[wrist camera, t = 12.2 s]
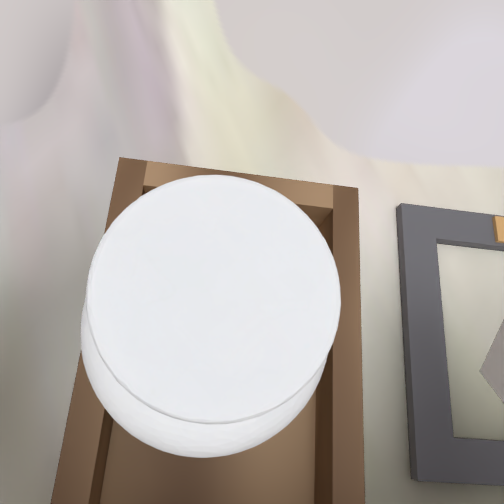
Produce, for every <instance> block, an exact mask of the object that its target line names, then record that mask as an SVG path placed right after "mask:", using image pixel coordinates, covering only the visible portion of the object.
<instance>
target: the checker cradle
mask: <svg viewBox="0 0 504 504" xmlns="http://www.w3.org/2000/svg"><path fill="white" fill-rule="evenodd" d="M396 211H397V229H398V247H399V265H400V284H401V302H402V320H403V338H404V357H405V375H406V393H407V411H408V430H409V448H410V466H411V479H413V480H416V481H427V482H446V483H464V484H482V485H500V486H504V441H498V440H483V439H468V438H454V437H453V426H452V414H451V403H450V391H449V380H448V369H447V357H446V346H445V334H444V323H443V312H442V300H441V289H440V277H439V266H438V254H437V243H439V244H448V245H456V246H465V247H473V248H482V249H490V250H499V251H504V216H498V215H490V214H483V213H475V212H467V211H459V210H451V209H443V208H435V207H427V206H419V205H412V204H404V203H401V204H400V205H399V206H398V207H397V208H396Z"/></svg>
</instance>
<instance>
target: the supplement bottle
mask: <svg viewBox="0 0 504 504" xmlns="http://www.w3.org/2000/svg"><path fill="white" fill-rule="evenodd" d="M340 309H341V293H340V283H339V276H338V272H337V267H336V264H335V261H334V258H333V256H332V253H331V251H330V249H329V247H328V244H327V242H326V240H325V239H324V237H323V236H322V234H321V233H320V231H319V229H318V228H317V227H316V225H315V224H314V223H313V222H312V220H311V219H310V218H309V217H308V216H307V215H306V214H305V213H304V212H303V211H302V210H301V209H300V208H299V207H298V206H297V205H296V204H294V203H293V202H292V201H290V200H289V199H288V198H286V197H285V196H283V195H282V194H280V193H279V192H277V191H275V190H273V189H271V188H269V187H266V186H264V185H262V184H260V183H257V182H254V181H251V180H247V179H244V178H239V177H234V176H227V175H198V176H193V177H187V178H182V179H178V180H175V181H172V182H169V183H166V184H164V185H161V186H159V187H157V188H155V189H153V190H151V191H149V192H148V193H146V194H144V195H142V196H141V197H139V198H138V199H137V200H136V201H134V202H133V203H132V204H130V205H129V206H128V207H127V208H126V209H125V210H124V211H123V212H122V213H121V214H120V215H119V216H118V217H117V218H116V219H115V220H114V221H113V222H112V224H111V225H110V227H109V228H108V230H107V231H106V233H105V234H104V235H103V237H102V239H101V241H100V243H99V245H98V247H97V250H96V252H95V255H94V257H93V259H92V263H91V266H90V269H89V273H88V279H87V287H86V298H85V302H84V306H83V310H82V318H81V350H82V358H83V363H84V366H85V369H86V373H87V376H88V378H89V381H90V383H91V385H92V388H93V390H94V392H95V394H96V396H97V397H98V399H99V400H100V402H101V403H102V405H103V406H104V408H105V409H106V410H107V412H108V413H109V414H110V415H111V417H112V418H113V419H114V420H115V421H116V422H117V423H118V424H119V425H120V426H122V427H123V428H124V429H125V430H126V431H127V432H129V433H130V434H131V435H132V436H134V437H136V438H137V439H139V440H140V441H142V442H144V443H146V444H148V445H150V446H152V447H154V448H156V449H159V450H161V451H164V452H167V453H171V454H175V455H179V456H186V457H196V458H209V457H220V456H227V455H231V454H235V453H239V452H242V451H245V450H247V449H250V448H253V447H255V446H257V445H259V444H261V443H263V442H265V441H266V440H268V439H270V438H271V437H273V436H274V435H276V434H277V433H279V432H280V431H281V430H282V429H284V428H285V427H286V426H287V425H288V424H289V423H290V422H291V421H292V420H293V419H294V418H295V417H296V416H297V415H298V414H299V413H300V412H301V411H302V409H303V408H304V407H305V405H306V404H307V402H308V401H309V399H310V398H311V396H312V395H313V393H314V391H315V389H316V387H317V385H318V383H319V381H320V378H321V375H322V373H323V370H324V367H325V363H326V360H327V355H328V353H329V351H330V349H331V346H332V344H333V342H334V338H335V335H336V332H337V328H338V323H339V317H340Z"/></svg>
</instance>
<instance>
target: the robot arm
mask: <svg viewBox="0 0 504 504" xmlns="http://www.w3.org/2000/svg"><path fill="white" fill-rule="evenodd" d="M480 373H481V374H482V375H483V377H484V378H485V379H486V381H487V382H488V383H489V384H490V386H491V387H492V388H493V390H494V391H495V392H496V394H497V395H498V396H499V398H500V399H501V400H502V402H503V403H504V320H503V322H502V324H501V326H500V329H499V331H498V333H497V335H496V337H495V339H494V341H493V344H492V346H491V348H490V350H489V352H488V354H487V357H486V359H485V361H484V363H483V365H482V367H481V369H480Z"/></svg>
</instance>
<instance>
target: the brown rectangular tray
mask: <svg viewBox="0 0 504 504" xmlns="http://www.w3.org/2000/svg"><path fill="white" fill-rule="evenodd" d="M198 175H227V176H234V177H239V178H244V179H247V180H251V181H254V182H257V183H260V184H262V185H264V186H266V187H269V188H271V189H273V190H275V191H277V192H279V193H280V194H282V195H283V196H285V197H286V198H288V199H289V200H290V201H292V202H293V203H294V204H296V205H297V206H298V207H299V208H300V209H301V210H302V211H303V212H304V213H305V214H306V215H307V216H308V217H309V218H310V219H311V220H312V222H313V223H314V224H315V225H316V227H317V228H318V229H319V231H320V233H321V234H322V236H323V237H324V239H325V240H326V242H327V244H328V247H329V249H330V251H331V253H332V256H333V258H334V261H335V264H336V267H337V272H338V276H339V283H340V293H341V309H340V317H339V323H338V328H337V332H336V335H335V338H334V342H333V344H332V346H331V349H330V351H329V353H328V355H327V360H326V363H325V367H324V370H323V373H322V375H321V378H320V381H319V383H318V385H317V387H316V389H315V391H314V393H313V395H312V396H311V398H310V399H309V401H308V402H307V404H306V405H305V407H304V408H303V409H302V411H301V412H300V413H299V414H298V415H297V416H296V417H295V418H294V419H293V420H292V421H291V422H290V423H289V424H288V425H287V426H286V427H285V428H284V429H282V430H281V431H280V432H279V433H277V434H276V435H274V436H273V437H271V438H270V439H268V440H266V441H265V442H263V443H261V444H259V445H257V446H255V447H253V448H250V449H247V450H245V451H242V452H239V453H235V454H231V455H227V456H220V457H209V458H196V457H186V456H179V455H175V454H171V453H167V452H164V451H161V450H159V449H156V448H154V447H152V446H150V445H148V444H146V443H144V442H142V441H140V440H139V439H137V438H136V437H134V436H132V435H131V434H130V433H129V432H127V431H126V430H125V429H124V428H123V427H122V426H120V425H119V424H118V423H117V422H116V421H115V420H114V419H113V418H112V417H111V415H110V414H109V413H108V412H107V410H106V409H105V408H104V406H103V405H102V403H101V402H100V400H99V399H98V397H97V396H96V394H95V392H94V390H93V388H92V385H91V383H90V381H89V378H88V376H87V373H86V369H85V366H84V363H83V358H82V350H81V353H80V358H79V363H78V368H77V373H76V378H75V383H74V388H73V393H72V398H71V403H70V408H69V413H68V418H67V423H66V428H65V434H64V439H63V444H62V449H61V454H60V459H59V464H58V469H57V474H56V479H55V484H54V489H53V494H52V499H51V504H365V482H364V435H363V389H362V342H361V295H360V248H359V201H358V188H353V187H346V186H338V185H330V184H322V183H315V182H307V181H299V180H291V179H284V178H276V177H268V176H261V175H253V174H245V173H237V172H230V171H222V170H214V169H206V168H199V167H191V166H183V165H175V164H168V163H160V162H152V161H144V160H137V159H129V158H121V157H119V162H118V167H117V172H116V177H115V182H114V187H113V192H112V198H111V203H110V208H109V213H108V218H107V223H106V228H105V233H106V231H107V230H108V228H109V227H110V225H111V224H112V222H113V221H114V220H115V219H116V218H117V217H118V216H119V215H120V214H121V213H122V212H123V211H124V210H125V209H126V208H127V207H128V206H129V205H130V204H132V203H133V202H134V201H136V200H137V199H138V198H139V197H141V196H142V195H144V194H146V193H148V192H149V191H151V190H153V189H155V188H157V187H159V186H161V185H164V184H166V183H169V182H172V181H175V180H178V179H182V178H187V177H193V176H198ZM105 233H104V234H105Z"/></svg>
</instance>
